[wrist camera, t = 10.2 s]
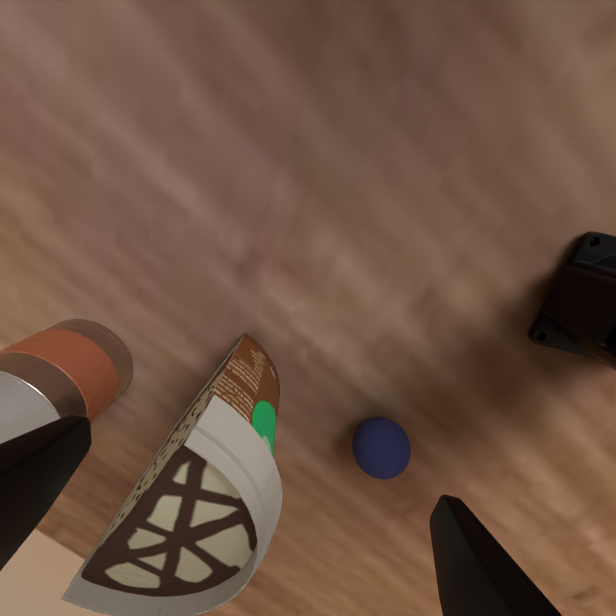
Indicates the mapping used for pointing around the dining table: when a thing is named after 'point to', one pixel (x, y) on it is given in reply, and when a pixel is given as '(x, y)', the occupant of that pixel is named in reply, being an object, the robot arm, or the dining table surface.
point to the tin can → (61, 376)
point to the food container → (196, 503)
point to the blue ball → (381, 448)
